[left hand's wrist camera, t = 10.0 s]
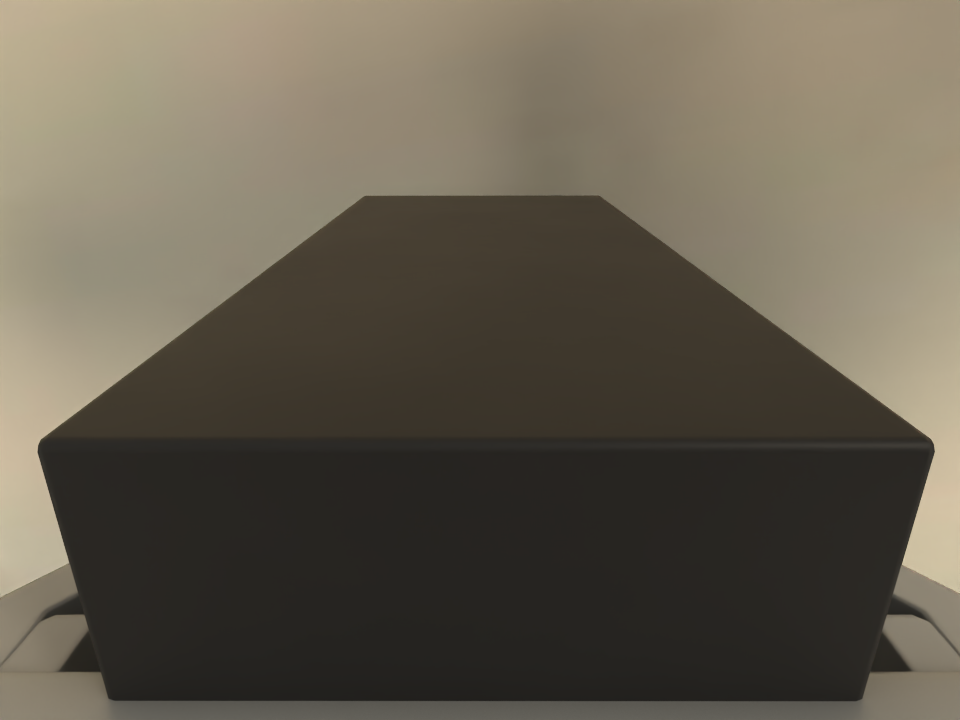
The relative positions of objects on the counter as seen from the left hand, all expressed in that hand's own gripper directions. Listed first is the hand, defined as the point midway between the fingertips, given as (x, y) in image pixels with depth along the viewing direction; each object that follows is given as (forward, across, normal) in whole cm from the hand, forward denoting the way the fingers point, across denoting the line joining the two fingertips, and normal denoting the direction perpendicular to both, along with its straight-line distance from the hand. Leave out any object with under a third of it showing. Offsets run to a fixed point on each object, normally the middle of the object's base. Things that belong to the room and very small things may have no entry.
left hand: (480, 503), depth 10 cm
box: (+7, 0, +9) cm, 12 cm away
